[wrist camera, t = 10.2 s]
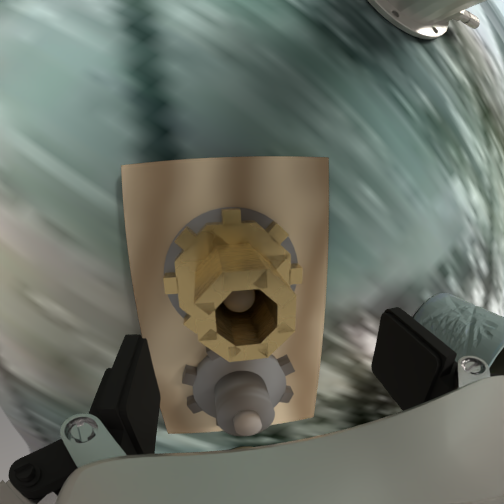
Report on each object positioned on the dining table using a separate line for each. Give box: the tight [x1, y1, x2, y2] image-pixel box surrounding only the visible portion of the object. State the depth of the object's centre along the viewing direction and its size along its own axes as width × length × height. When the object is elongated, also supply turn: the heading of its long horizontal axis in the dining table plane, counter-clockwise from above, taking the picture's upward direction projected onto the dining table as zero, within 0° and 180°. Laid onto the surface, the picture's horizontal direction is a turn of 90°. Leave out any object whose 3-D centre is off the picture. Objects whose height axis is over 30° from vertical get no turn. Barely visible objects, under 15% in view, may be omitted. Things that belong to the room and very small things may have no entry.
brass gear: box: [163, 208, 303, 362], centre depth 18 cm, size 10×10×7 cm
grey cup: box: [413, 293, 504, 375], centre depth 23 cm, size 10×10×12 cm
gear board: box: [121, 156, 329, 436], centre depth 21 cm, size 15×25×7 cm, turn 2°
